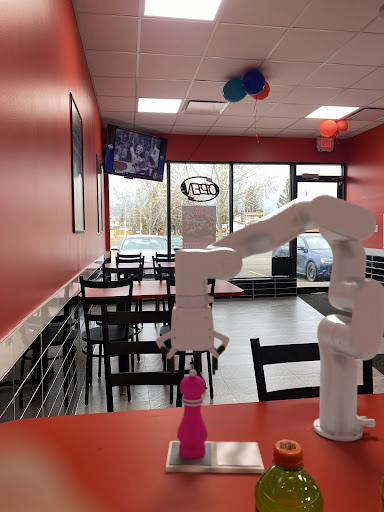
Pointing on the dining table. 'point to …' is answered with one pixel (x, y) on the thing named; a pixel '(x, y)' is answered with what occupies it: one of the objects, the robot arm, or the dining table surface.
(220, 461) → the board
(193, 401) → the pepper mill
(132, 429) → the dining table surface
